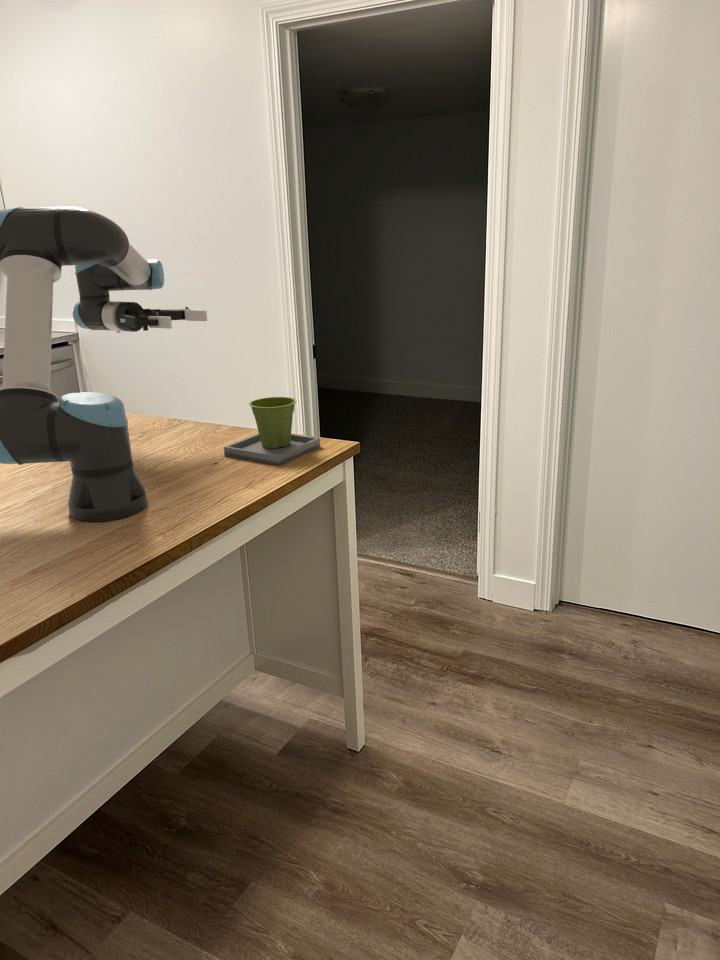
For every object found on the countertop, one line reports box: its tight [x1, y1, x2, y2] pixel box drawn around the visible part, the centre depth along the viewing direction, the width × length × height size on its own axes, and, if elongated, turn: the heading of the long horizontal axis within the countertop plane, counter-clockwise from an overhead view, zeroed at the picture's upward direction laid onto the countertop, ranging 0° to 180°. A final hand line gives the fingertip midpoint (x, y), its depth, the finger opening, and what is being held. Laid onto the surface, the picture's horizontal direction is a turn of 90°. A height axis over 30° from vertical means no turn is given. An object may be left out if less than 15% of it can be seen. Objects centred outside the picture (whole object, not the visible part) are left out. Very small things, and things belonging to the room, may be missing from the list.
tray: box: [223, 433, 321, 466], centre depth 181 cm, size 17×17×2 cm
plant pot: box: [248, 396, 297, 449], centre depth 181 cm, size 12×12×11 cm
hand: (188, 319), depth 179 cm, fingers open, 13 cm apart
